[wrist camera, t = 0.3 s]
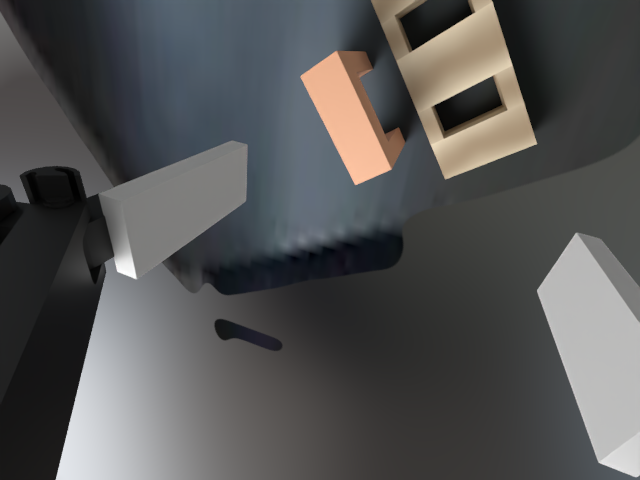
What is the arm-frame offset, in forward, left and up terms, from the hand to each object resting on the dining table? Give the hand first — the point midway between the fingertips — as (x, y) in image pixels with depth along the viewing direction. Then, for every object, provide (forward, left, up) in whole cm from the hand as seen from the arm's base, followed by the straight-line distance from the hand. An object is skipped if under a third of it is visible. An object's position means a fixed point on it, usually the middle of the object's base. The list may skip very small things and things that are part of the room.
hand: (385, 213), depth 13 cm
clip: (-4, -5, -25) cm, 25 cm away
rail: (-4, +4, -25) cm, 25 cm away
